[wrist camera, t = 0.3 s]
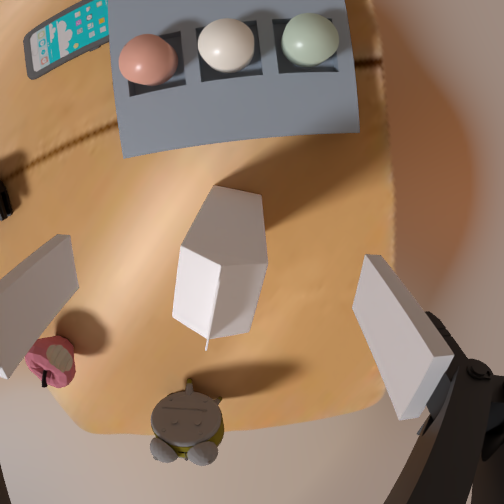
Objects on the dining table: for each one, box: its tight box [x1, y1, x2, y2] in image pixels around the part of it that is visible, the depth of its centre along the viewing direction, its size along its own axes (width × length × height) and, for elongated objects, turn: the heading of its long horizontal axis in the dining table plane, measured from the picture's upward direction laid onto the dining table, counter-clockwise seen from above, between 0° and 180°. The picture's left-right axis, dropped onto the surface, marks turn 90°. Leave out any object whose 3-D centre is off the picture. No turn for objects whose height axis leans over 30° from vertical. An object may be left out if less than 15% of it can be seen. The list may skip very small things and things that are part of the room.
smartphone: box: [23, 0, 109, 80], centre depth 29 cm, size 9×1×15 cm
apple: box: [25, 335, 76, 388], centre depth 45 cm, size 10×9×10 cm
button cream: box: [198, 18, 254, 73], centre depth 27 cm, size 5×5×4 cm
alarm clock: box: [150, 379, 224, 466], centre depth 46 cm, size 12×7×15 cm, turn 92°
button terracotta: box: [119, 34, 178, 86], centre depth 27 cm, size 5×5×4 cm
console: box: [108, 0, 360, 159], centre depth 30 cm, size 20×26×4 cm
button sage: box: [281, 13, 339, 67], centre depth 26 cm, size 5×5×4 cm
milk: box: [172, 185, 268, 351], centre depth 30 cm, size 6×6×22 cm
